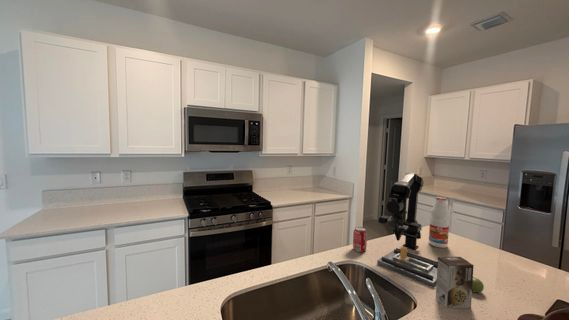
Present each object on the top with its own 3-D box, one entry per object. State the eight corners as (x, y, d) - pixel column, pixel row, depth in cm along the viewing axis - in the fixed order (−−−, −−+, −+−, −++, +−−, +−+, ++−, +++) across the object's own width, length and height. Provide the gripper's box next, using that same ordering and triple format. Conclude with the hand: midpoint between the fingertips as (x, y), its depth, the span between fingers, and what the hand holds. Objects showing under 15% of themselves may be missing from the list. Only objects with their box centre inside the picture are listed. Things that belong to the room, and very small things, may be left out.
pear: (474, 281, 92) (452, 271, 102) (475, 295, 91) (453, 284, 101) (486, 280, 93) (463, 270, 103) (488, 294, 92) (464, 283, 102)
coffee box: (457, 297, 91) (460, 256, 90) (471, 308, 84) (475, 264, 83) (434, 297, 90) (437, 256, 89) (446, 308, 84) (449, 264, 83)
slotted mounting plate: (381, 259, 115) (381, 257, 115) (396, 250, 126) (397, 247, 126) (432, 280, 98) (432, 276, 98) (444, 266, 109) (445, 263, 109)
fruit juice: (447, 244, 140) (450, 197, 138) (447, 249, 132) (450, 200, 131) (429, 240, 145) (431, 195, 144) (427, 245, 138) (430, 197, 136)
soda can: (364, 247, 133) (365, 226, 132) (367, 253, 126) (368, 231, 125) (351, 246, 134) (352, 226, 133) (354, 252, 127) (355, 230, 126)
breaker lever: (400, 257, 118) (401, 245, 117) (408, 260, 115) (409, 248, 114) (397, 259, 116) (398, 247, 115) (406, 262, 113) (406, 250, 112)
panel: (395, 252, 128) (396, 246, 128) (448, 271, 110) (448, 264, 109) (377, 264, 115) (377, 257, 114) (433, 287, 97) (433, 279, 96)
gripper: (373, 208, 117) (372, 238, 118) (414, 217, 103) (412, 251, 104) (383, 204, 125) (382, 233, 126) (422, 212, 111) (421, 244, 112)
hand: (398, 240), depth 117 cm, fingers closed
